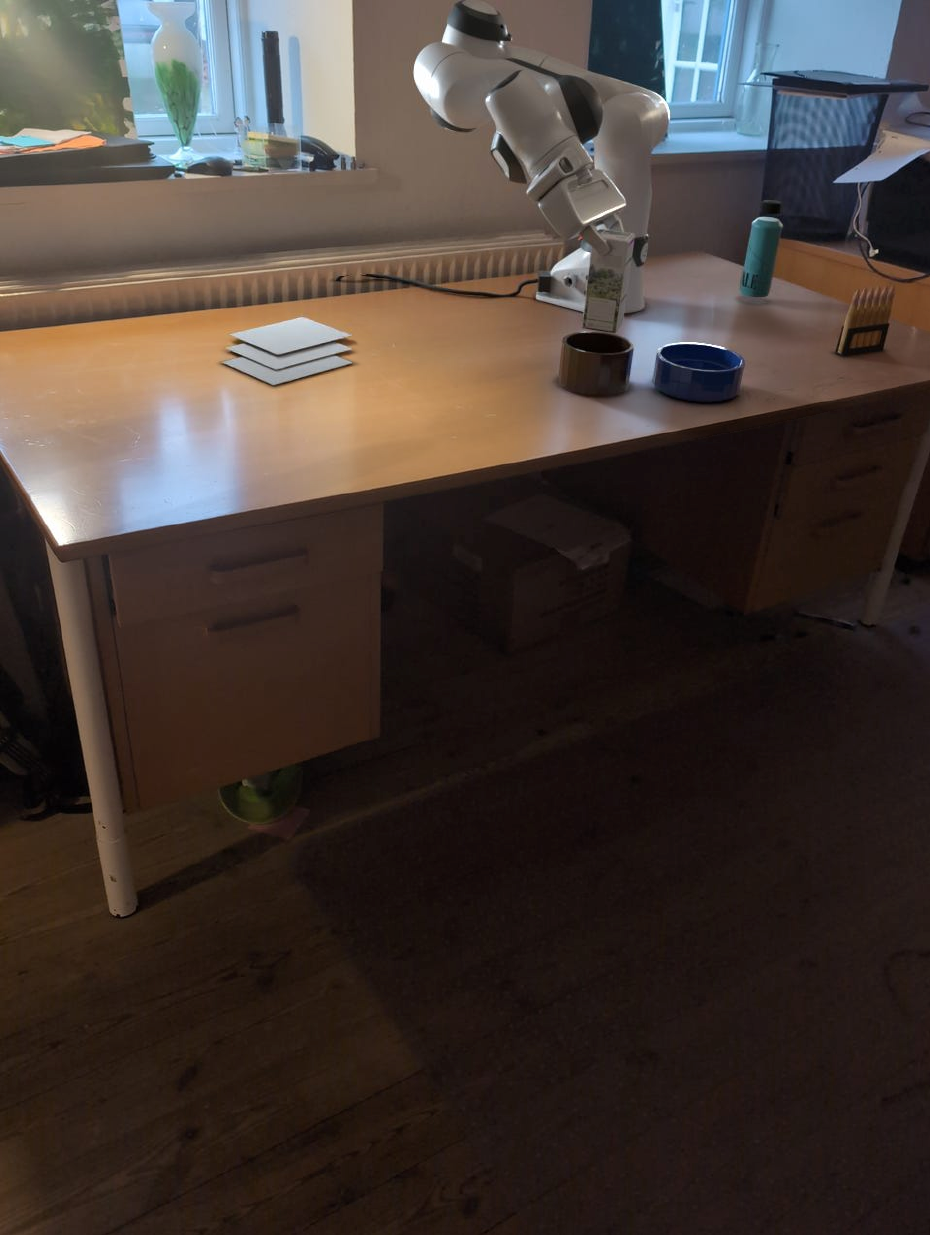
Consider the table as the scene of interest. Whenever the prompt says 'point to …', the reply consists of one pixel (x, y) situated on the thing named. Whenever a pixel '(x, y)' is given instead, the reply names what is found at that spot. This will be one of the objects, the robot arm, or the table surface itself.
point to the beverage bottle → (762, 252)
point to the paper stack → (288, 350)
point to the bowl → (698, 372)
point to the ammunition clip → (866, 322)
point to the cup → (595, 364)
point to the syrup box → (608, 283)
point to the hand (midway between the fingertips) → (615, 249)
